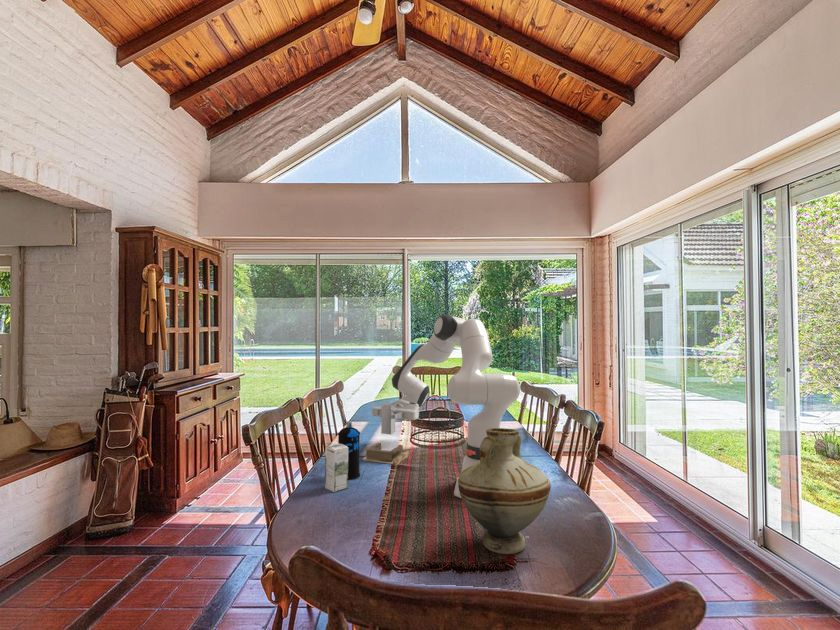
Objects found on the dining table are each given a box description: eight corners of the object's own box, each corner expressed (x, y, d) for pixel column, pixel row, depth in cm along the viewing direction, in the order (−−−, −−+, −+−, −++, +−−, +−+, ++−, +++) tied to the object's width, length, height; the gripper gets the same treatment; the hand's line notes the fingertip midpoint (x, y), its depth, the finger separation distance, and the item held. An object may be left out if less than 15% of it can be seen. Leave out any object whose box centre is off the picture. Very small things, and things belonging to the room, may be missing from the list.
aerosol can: (332, 476, 167) (333, 421, 167) (350, 470, 173) (350, 418, 173) (346, 481, 161) (347, 425, 161) (364, 475, 168) (364, 421, 168)
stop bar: (391, 434, 187) (391, 405, 187) (381, 433, 188) (381, 404, 188) (395, 431, 191) (395, 403, 191) (385, 430, 192) (385, 402, 192)
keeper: (393, 464, 181) (393, 453, 181) (362, 460, 186) (362, 450, 186) (406, 454, 194) (406, 444, 194) (377, 450, 199) (377, 441, 199)
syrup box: (338, 483, 159) (338, 442, 159) (348, 488, 155) (348, 446, 155) (324, 488, 155) (324, 445, 155) (334, 493, 151) (334, 449, 151)
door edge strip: (395, 466, 178) (395, 461, 178) (393, 466, 179) (393, 460, 179) (410, 454, 193) (410, 450, 193) (408, 454, 193) (408, 449, 193)
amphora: (538, 527, 129) (531, 420, 132) (569, 565, 105) (559, 433, 108) (456, 533, 128) (450, 424, 131) (468, 572, 105) (460, 439, 107)
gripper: (379, 400, 205) (365, 406, 192) (421, 404, 198) (410, 410, 185) (379, 414, 205) (365, 421, 192) (421, 418, 198) (409, 426, 185)
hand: (387, 416), depth 189 cm, fingers closed on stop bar, 4 cm apart
